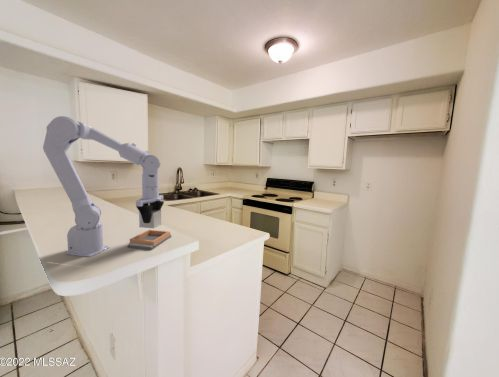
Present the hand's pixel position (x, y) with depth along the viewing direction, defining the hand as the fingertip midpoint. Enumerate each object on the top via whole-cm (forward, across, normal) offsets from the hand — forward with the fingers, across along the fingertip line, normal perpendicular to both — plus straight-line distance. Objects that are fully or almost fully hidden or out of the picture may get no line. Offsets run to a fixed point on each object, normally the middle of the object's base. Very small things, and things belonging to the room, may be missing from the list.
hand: (150, 220), depth 81 cm
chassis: (+8, 0, 0) cm, 8 cm away
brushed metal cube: (+2, 0, 0) cm, 2 cm away
